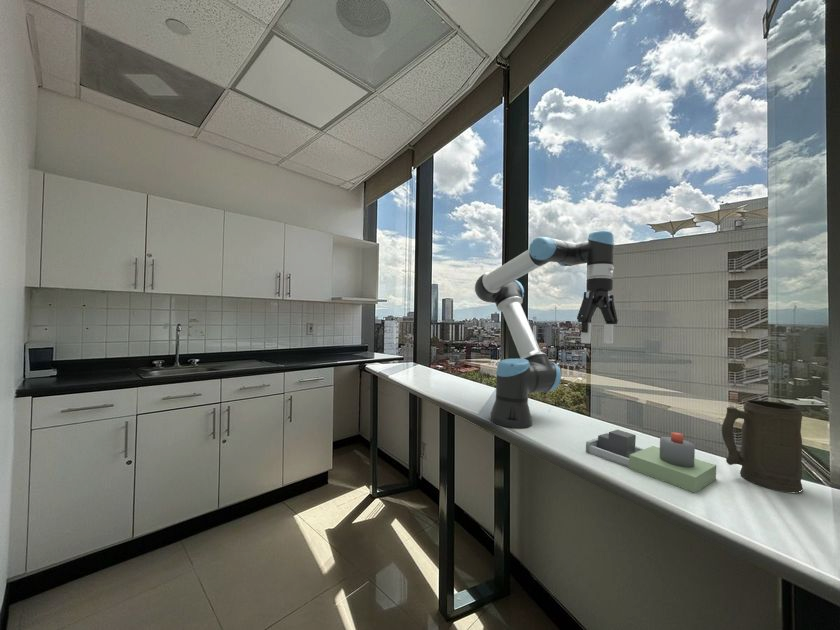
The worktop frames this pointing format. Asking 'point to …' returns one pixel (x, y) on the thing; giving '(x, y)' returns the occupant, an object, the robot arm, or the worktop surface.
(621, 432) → the squat charcoal block
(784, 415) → the beer stein
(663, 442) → the green slab with knob
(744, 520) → the worktop surface
